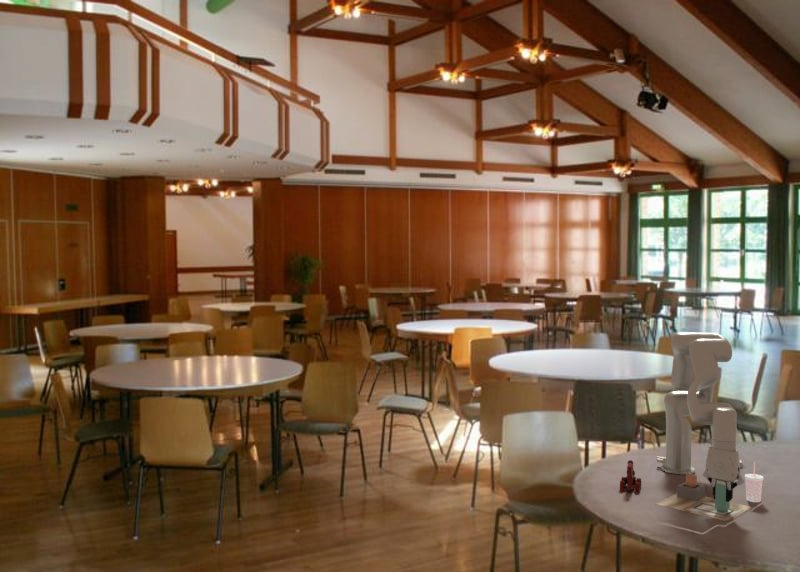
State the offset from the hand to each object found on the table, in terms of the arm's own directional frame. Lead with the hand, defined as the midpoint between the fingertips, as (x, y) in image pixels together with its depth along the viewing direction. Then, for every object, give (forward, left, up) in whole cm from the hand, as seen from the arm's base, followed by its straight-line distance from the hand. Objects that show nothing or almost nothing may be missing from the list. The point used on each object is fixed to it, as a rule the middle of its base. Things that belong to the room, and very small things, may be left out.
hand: (722, 498), depth 270 cm
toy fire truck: (-34, +2, -5) cm, 35 cm away
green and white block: (0, 0, -4) cm, 4 cm away
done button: (-14, +8, -2) cm, 17 cm away
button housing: (-14, +8, -4) cm, 17 cm away
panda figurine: (-25, +66, -5) cm, 71 cm away
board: (-7, +2, -5) cm, 9 cm away
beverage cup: (+3, +20, -5) cm, 21 cm away
